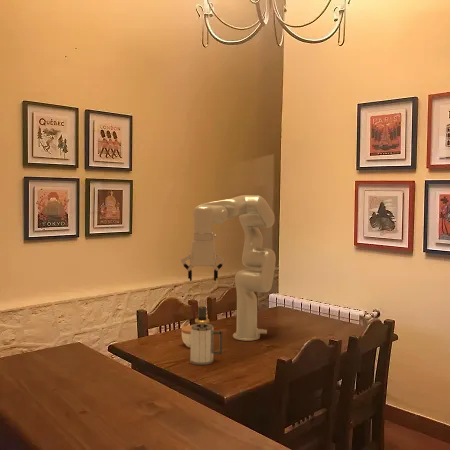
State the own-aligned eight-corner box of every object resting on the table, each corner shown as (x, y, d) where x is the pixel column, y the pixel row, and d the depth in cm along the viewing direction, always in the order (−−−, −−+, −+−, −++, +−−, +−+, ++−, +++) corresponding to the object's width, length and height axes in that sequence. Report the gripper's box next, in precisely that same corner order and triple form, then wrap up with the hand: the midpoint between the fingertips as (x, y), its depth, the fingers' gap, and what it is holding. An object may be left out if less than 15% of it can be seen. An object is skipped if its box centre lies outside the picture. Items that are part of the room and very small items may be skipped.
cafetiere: (220, 357, 204) (221, 322, 204) (222, 364, 195) (223, 328, 194) (190, 357, 203) (190, 323, 203) (190, 365, 194) (190, 329, 193)
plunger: (209, 355, 203) (210, 305, 201) (210, 360, 196) (210, 309, 195) (193, 355, 202) (194, 305, 201) (193, 360, 196) (194, 309, 194)
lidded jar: (202, 350, 213) (202, 328, 213) (178, 348, 216) (178, 326, 215) (208, 343, 224) (208, 322, 223) (184, 341, 226) (185, 320, 226)
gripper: (224, 236, 202) (223, 278, 203) (181, 236, 200) (181, 278, 202) (225, 238, 195) (225, 281, 196) (181, 238, 193) (181, 282, 194)
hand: (202, 280), depth 199 cm, fingers open, 9 cm apart
